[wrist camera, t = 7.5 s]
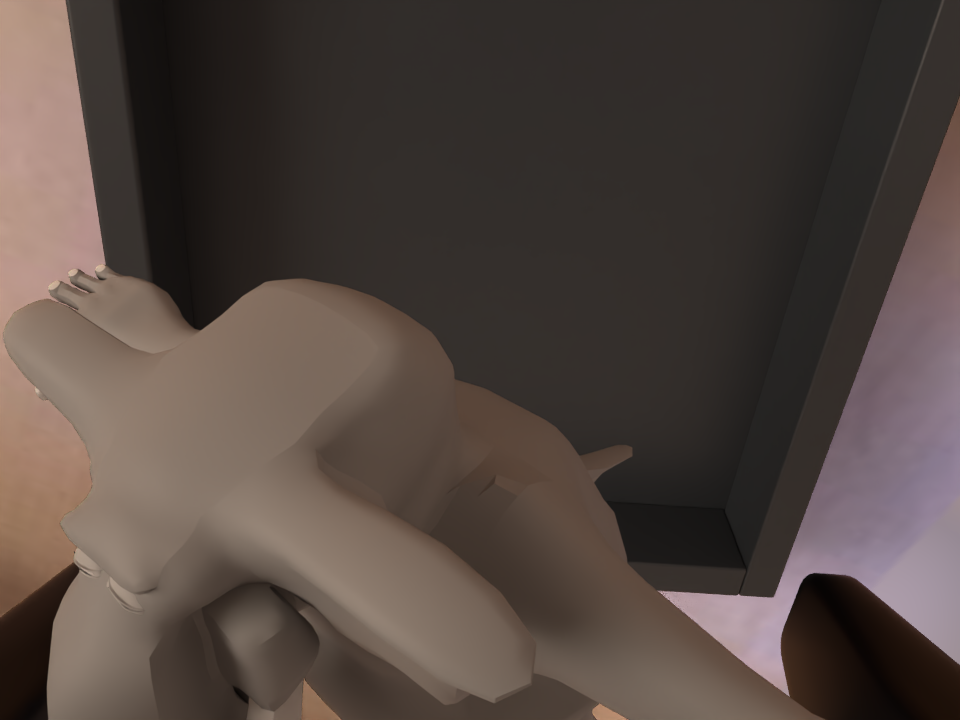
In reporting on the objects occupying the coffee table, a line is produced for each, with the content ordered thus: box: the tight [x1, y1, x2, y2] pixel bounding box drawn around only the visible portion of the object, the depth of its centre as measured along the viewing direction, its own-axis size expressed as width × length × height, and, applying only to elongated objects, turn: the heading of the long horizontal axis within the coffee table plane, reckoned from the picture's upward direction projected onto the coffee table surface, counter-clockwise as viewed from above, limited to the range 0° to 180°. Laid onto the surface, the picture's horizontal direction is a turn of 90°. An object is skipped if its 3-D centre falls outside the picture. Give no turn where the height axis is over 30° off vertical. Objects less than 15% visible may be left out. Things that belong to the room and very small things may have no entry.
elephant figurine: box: [3, 264, 825, 720], centre depth 8 cm, size 10×6×9 cm
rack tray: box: [66, 0, 960, 597], centre depth 16 cm, size 14×15×3 cm
